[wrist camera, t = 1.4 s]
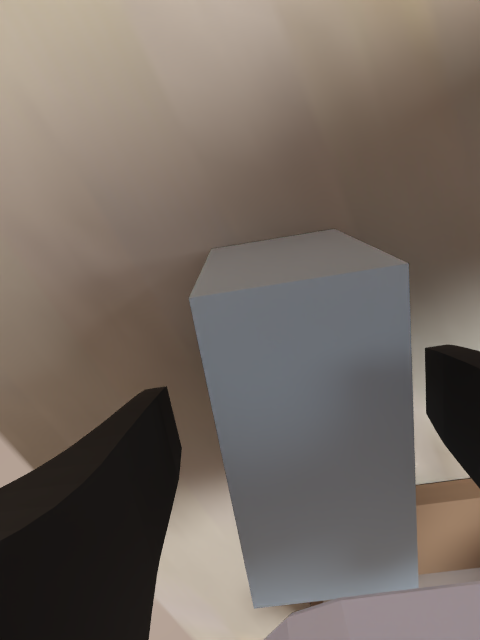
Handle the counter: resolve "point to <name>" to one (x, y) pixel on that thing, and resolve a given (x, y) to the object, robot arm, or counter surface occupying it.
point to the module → (313, 412)
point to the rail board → (447, 533)
